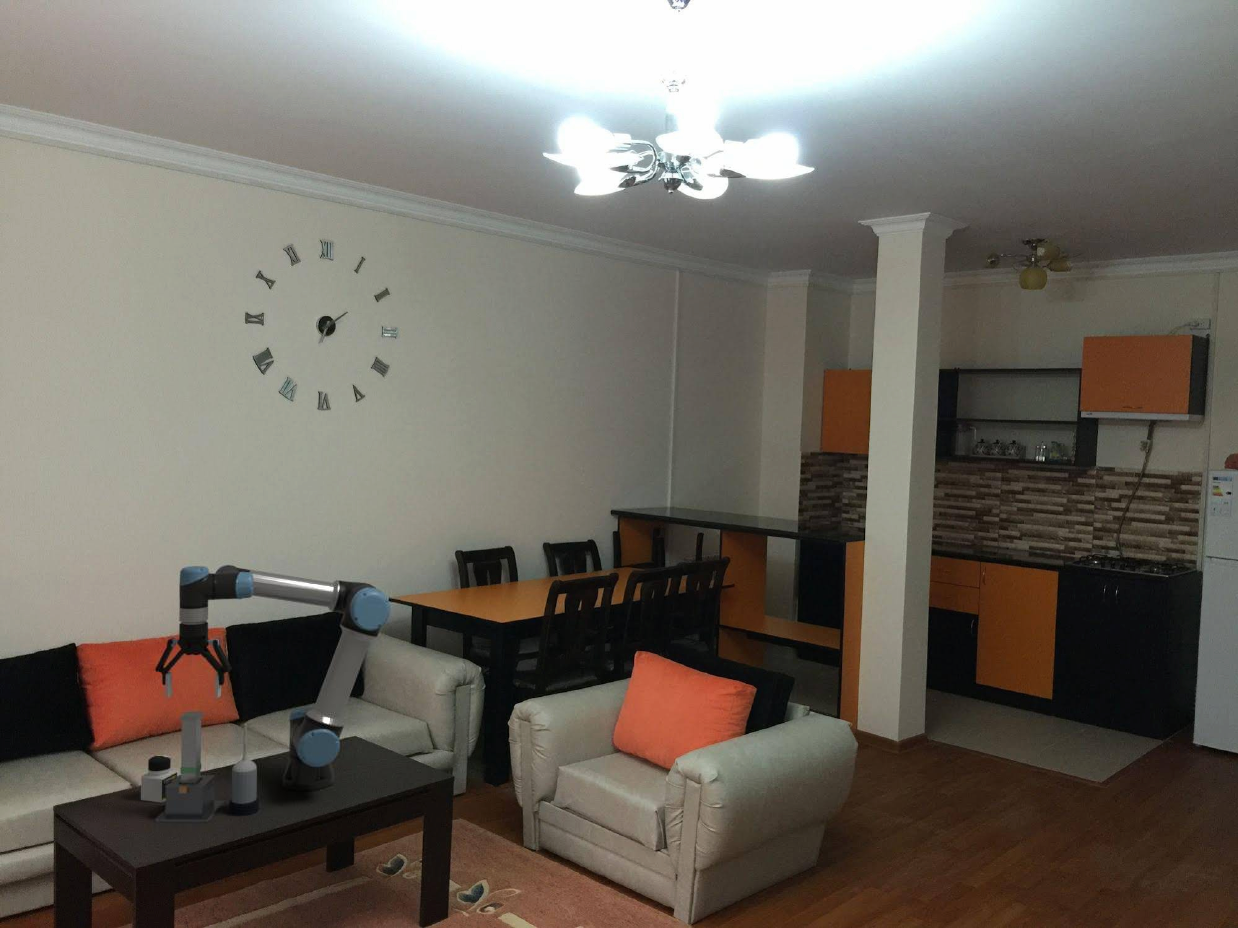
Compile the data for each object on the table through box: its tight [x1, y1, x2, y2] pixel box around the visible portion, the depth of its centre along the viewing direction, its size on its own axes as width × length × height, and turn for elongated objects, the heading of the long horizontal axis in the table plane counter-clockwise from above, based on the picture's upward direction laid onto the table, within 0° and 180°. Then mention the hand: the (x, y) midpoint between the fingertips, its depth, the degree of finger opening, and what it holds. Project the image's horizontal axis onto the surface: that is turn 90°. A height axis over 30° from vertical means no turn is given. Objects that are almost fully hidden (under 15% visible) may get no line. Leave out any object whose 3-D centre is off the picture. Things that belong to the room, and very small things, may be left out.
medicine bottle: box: [140, 754, 178, 803], centre depth 302 cm, size 7×7×12 cm
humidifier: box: [228, 723, 260, 817], centre depth 293 cm, size 8×8×25 cm
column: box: [179, 710, 204, 785], centre depth 290 cm, size 5×5×21 cm
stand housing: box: [154, 774, 225, 823], centre depth 291 cm, size 14×14×9 cm
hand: (193, 696), depth 290 cm, fingers open, 13 cm apart
